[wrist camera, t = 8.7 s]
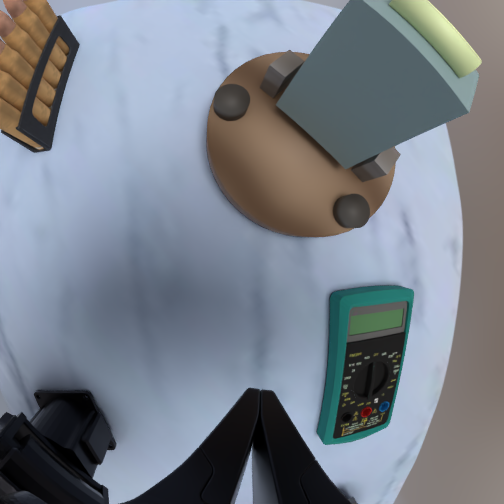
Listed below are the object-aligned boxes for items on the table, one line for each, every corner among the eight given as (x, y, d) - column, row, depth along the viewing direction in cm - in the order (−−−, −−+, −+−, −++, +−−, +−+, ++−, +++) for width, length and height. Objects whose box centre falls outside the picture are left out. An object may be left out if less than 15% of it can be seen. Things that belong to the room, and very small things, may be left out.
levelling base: (312, 275, 21) (347, 289, 15) (165, 148, 18) (153, 119, 13) (402, 151, 22) (443, 136, 16) (286, 43, 19) (306, 5, 14)
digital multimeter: (313, 436, 22) (324, 454, 20) (326, 288, 22) (344, 295, 19) (376, 418, 24) (391, 433, 21) (398, 282, 23) (419, 287, 20)
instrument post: (345, 169, 17) (492, 102, 6) (275, 105, 16) (371, -27, 5) (372, 133, 17) (497, 66, 6) (309, 74, 16) (402, -34, 5)
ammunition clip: (51, 150, 17) (-47, 94, 5) (34, 153, 16) (-64, 104, 5) (80, 44, 16) (33, -40, 4) (63, 48, 16) (12, -30, 4)
